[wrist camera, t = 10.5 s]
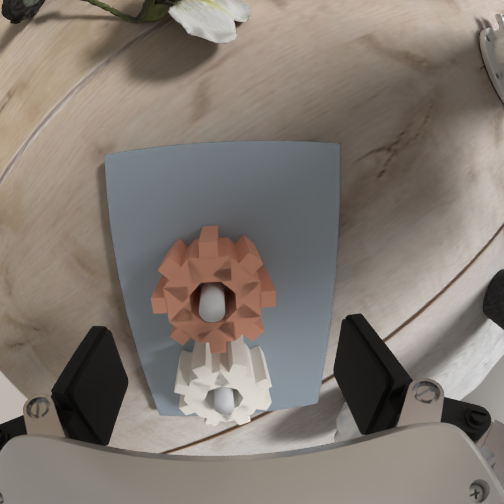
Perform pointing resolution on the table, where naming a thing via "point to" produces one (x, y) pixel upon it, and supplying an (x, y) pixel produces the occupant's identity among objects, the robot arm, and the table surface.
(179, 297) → the terracotta gear
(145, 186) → the gear board
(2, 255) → the table surface
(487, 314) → the travel mug
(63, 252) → the table surface
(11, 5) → the artificial flower
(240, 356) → the cream gear
